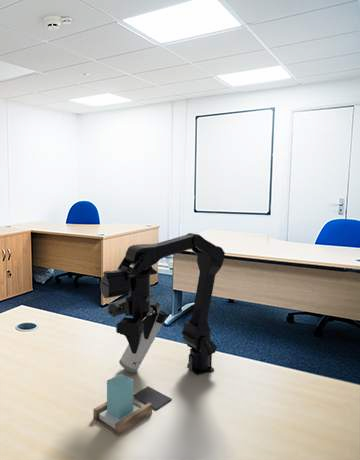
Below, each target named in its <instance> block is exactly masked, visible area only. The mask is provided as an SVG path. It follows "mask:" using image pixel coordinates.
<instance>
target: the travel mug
mask: <svg viewBox="0 0 360 460" xmlns="http://www.w3.org/2000/svg"><path fill="white" fill-rule="evenodd" d="M154 312H155V310H154ZM169 316H170V314H168V313H166V312H165V311H162V310H161V311H160V312H159V315H158V317H157V319H156V322H155V324H154V326H153V329H152V331H151V333H150V336H149V338H148V339H144V334H143V335H142V338H141V341H140V344H139V347H138V350H137V353H136V354H133V353H132V351H131V349H130V346H129V343H128V344H127V346H126V349H125V350H124V352H123V354H122V355H121V357H120V359H119V364H120V367H121V368H123V369H125V370H126V371H128V372H130V373H136V372H137V371H139V368H140V366H141V365H142V362H143V361H144V360H145V357H146V355H148V352H149V350H150V348H151V346H152V344H153V343H154V341H155V339H156V338H157V335H158V333H159V331H160V329H161V328H162V325H163V324H164V322H165V320H166V318H168V317H169Z"/></svg>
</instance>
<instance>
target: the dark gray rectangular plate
mask: <svg viewBox="0 0 360 460" xmlns="http://www.w3.org/2000/svg"><path fill="white" fill-rule="evenodd" d="M133 399H135V400H137V401H139V402H141V403H143V404H144V405H146V404H148V403H149V402H150V403H152V410H155V411H158V410H159V409H160V408H162V407H164V406H165V405H166V404H168V403H170V402H171V401H172V397H169V396H167V395H165V394H164V393H161V392H160V391H158V390H156V389H154V388H152V387H150V386H145V387H144V388H142V389H141V390H139V391H138V392H135V393H133Z"/></svg>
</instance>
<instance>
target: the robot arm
mask: <svg viewBox="0 0 360 460" xmlns="http://www.w3.org/2000/svg"><path fill="white" fill-rule="evenodd" d="M189 250H191V252H193V253H194V254H196V257H197V258H196V263H197V266H198V270H199V274H198V275H199V276H198V279H197V286H196V292H195V296H194V304H193V309H192V315H191V317H190V318H189V320H188V321H184V322H183V328H182V331H181V334H182V339H183V341H184V343H185V344H186V346H187V347H188V348H190V349H189V354H188V363H187V367H188V368H189V369H190V370H191V371H192V372H193V373H194V374H195V375H201V374H205V373H209V372H213V371H215V368H214V367H213V365H212V363H213V362H212V360H213V354H215V353H216V350H217V348H218V346H217V345H216V344H215V343H214V342H213V341H212V340H211V328H210V324H209V322H208V320H209V314H210V308H211V303H212V296H213V290H214V285H215V279H216V275H217V274H218V272H219V271H220V270H221V268H222V267H223V264H224V260H225V255H226V252H225V251H224V249H223V248H222V247H221V246H218V245H215V244H213V243H212V242H211V241H209V240H207V239H206V238H204V237H203V236H201V235H200V234H198V233H193V232H188V233H186V234H185V235H181V236H177V237H174V238H170V239H167V240H163V241H160V242H157V243H143V244H141V243H140V244H132V245H129V247H127V250H126V252H125V256H124V257H123V259H122V260H121V262H120V264H119V265H118V267H117V270H111V271H110V270H105V271H103V275H102V276H101V279H100V282H99V286H100V292H101V295H102V297H103V298H104V299H109V298H110V299H111V298H116V297H120V296H126V295H127V294H129V295H127V296H126V297H125V299H124V298H123V299H121V300H117V301H114V302H111V303H109V304H108V307H107V309H108V310H107V314H109V315H110V316H111V317H112V318H116V317H118V316H120V315H125V317H123V318H122V319H121V320H120V321H118V322H117V324H115V331H116V334H120V335H121V336H122V335H123V336H124V337H125V338H126V341H127V343H128V344H129V346H130V349H131V351H132V353H133V354H136V353H137V350H138V347H139V344H140V341H141V338H142V335H143V334H144V339H148V338H149V336H150V333H151V331H152V329H153V326H154V324H155V322H156V319H157V317H158V315H159V312H160V311H162V308H161V306H162V305H161V304H160V302H159V301H153V300H151V299H153V296H154V295H153V293H152V292H151V276H152V275H153V276H154V275H157V274H158V271H157V270H156V269H154V267H153V266H154V265H157V263H158V262H159V261H160V260H162V259H163V258H166V257H167V258H168V257H170V256H172V255H176V254H179V253H183V252H185V251H189ZM154 310H155V312H154Z"/></svg>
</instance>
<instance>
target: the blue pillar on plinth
mask: <svg viewBox="0 0 360 460" xmlns="http://www.w3.org/2000/svg"><path fill="white" fill-rule="evenodd" d="M133 395H134V379H133V378H131V377H128V376H127V375H125V374H123V373H120V374H117V375H116V376H113V377H112V378H109V379H107V380H106V402H107V410H105V411H103V412H101V413H100V414H99V419H101V420H102V421H104V422H105V423H107V424H108V425H109V426H111V427H112V428H114V429H115V423H117V422H119V421H120V420H122V419H123V418H125V417H127V416H128V415H130V414H131V413H133V412H135V411H136V410H138V409H140V408H138V407H137V406H135V405H133V402H134V397H133Z"/></svg>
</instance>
